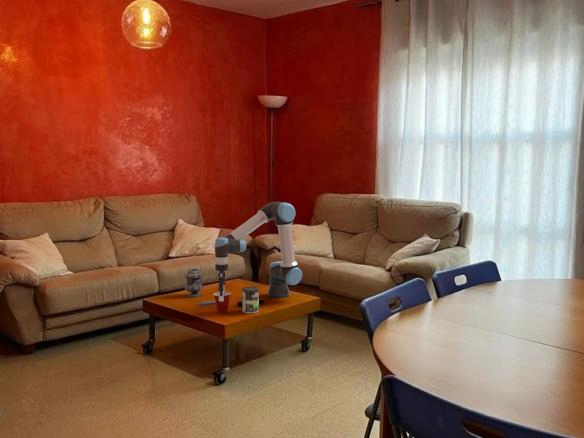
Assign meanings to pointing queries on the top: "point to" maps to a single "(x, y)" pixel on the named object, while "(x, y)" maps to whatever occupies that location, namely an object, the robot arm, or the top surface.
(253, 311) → the coffee can
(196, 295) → the apothecary jar
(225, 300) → the plastic cup
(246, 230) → the robot arm
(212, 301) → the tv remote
